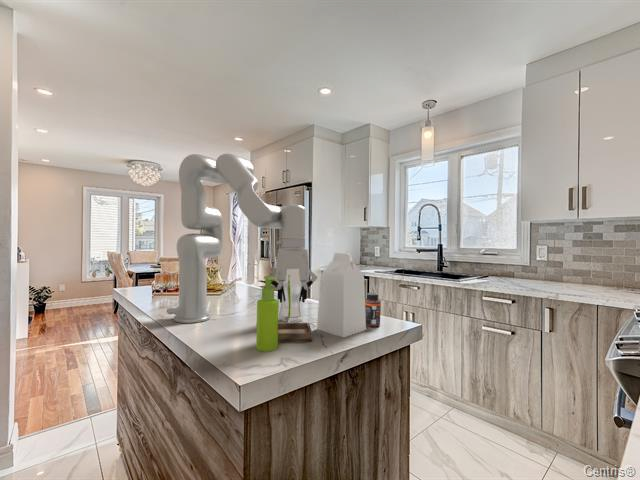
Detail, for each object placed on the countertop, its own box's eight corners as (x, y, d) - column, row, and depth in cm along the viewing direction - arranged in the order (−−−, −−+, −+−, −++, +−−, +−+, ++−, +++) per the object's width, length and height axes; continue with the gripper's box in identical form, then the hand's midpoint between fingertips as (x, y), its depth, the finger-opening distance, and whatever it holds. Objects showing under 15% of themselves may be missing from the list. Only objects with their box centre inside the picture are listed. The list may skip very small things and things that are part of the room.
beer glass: (299, 318, 96) (300, 269, 96) (277, 317, 97) (278, 268, 97) (305, 313, 102) (306, 267, 102) (284, 312, 104) (285, 266, 104)
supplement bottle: (378, 328, 110) (379, 295, 110) (361, 326, 112) (362, 294, 112) (381, 324, 116) (382, 293, 116) (365, 322, 118) (365, 291, 118)
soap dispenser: (259, 354, 84) (261, 278, 84) (254, 345, 90) (255, 275, 90) (281, 351, 86) (282, 277, 86) (274, 343, 93) (275, 274, 92)
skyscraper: (271, 320, 117) (273, 245, 117) (287, 317, 124) (289, 244, 123) (287, 325, 112) (288, 245, 112) (303, 321, 118) (304, 245, 118)
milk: (365, 330, 108) (367, 253, 107) (343, 337, 99) (344, 254, 99) (339, 323, 116) (340, 252, 116) (316, 329, 108) (318, 252, 108)
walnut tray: (271, 342, 93) (271, 333, 93) (272, 330, 105) (272, 322, 105) (311, 341, 95) (312, 333, 95) (308, 330, 107) (309, 322, 107)
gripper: (264, 244, 95) (263, 304, 95) (321, 245, 97) (320, 304, 97) (265, 244, 103) (264, 299, 103) (319, 244, 104) (318, 299, 105)
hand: (292, 301), depth 100 cm, fingers closed on beer glass, 6 cm apart
